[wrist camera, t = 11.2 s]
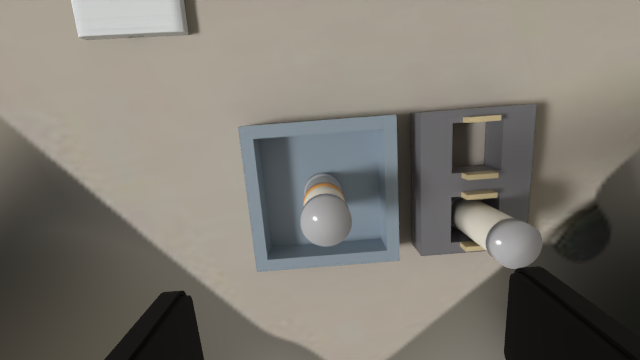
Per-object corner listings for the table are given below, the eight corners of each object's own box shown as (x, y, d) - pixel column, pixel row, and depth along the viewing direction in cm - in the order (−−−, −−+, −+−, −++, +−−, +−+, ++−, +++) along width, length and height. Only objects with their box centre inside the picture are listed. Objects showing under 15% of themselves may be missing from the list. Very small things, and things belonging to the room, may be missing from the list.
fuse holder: (515, 104, 26) (546, 103, 22) (507, 236, 28) (534, 253, 25) (410, 112, 26) (425, 112, 22) (412, 243, 28) (425, 261, 25)
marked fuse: (339, 171, 26) (350, 195, 18) (342, 206, 27) (353, 244, 19) (302, 174, 26) (298, 199, 18) (306, 209, 27) (302, 248, 19)
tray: (387, 114, 26) (396, 114, 23) (390, 245, 28) (399, 260, 25) (246, 125, 26) (238, 126, 23) (262, 255, 28) (256, 271, 25)
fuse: (478, 191, 27) (544, 221, 20) (477, 224, 28) (540, 266, 20) (443, 193, 27) (494, 225, 20) (443, 227, 28) (492, 270, 20)
